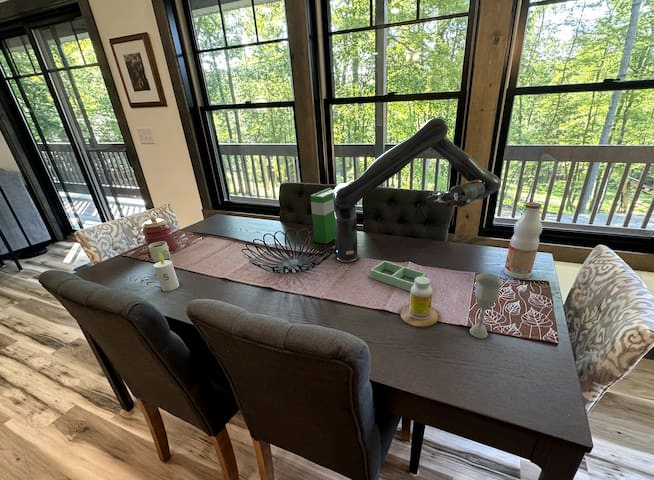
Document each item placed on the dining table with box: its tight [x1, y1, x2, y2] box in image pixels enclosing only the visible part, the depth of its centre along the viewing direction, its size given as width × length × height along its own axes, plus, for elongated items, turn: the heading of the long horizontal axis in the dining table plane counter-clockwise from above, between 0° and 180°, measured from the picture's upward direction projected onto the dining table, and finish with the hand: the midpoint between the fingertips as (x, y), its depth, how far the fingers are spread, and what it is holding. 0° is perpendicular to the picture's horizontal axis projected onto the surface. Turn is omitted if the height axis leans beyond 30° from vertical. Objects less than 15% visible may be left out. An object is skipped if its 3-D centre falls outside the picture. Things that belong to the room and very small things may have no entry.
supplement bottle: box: [409, 276, 434, 320], centre depth 98 cm, size 7×7×13 cm
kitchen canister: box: [140, 216, 177, 253], centre depth 157 cm, size 13×13×18 cm
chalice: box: [469, 273, 504, 339], centre depth 88 cm, size 7×7×18 cm
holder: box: [369, 260, 428, 293], centre depth 122 cm, size 20×10×4 cm, turn 50°
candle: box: [153, 252, 180, 292], centre depth 122 cm, size 6×6×15 cm
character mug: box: [147, 242, 171, 263], centre depth 135 cm, size 11×7×13 cm, turn 67°
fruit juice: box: [503, 201, 544, 280], centre depth 117 cm, size 9×9×28 cm
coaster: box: [399, 304, 439, 328], centre depth 101 cm, size 12×12×1 cm
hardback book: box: [309, 187, 336, 245], centre depth 161 cm, size 18×7×24 cm, turn 150°
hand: (436, 202), depth 110 cm, fingers open, 8 cm apart
